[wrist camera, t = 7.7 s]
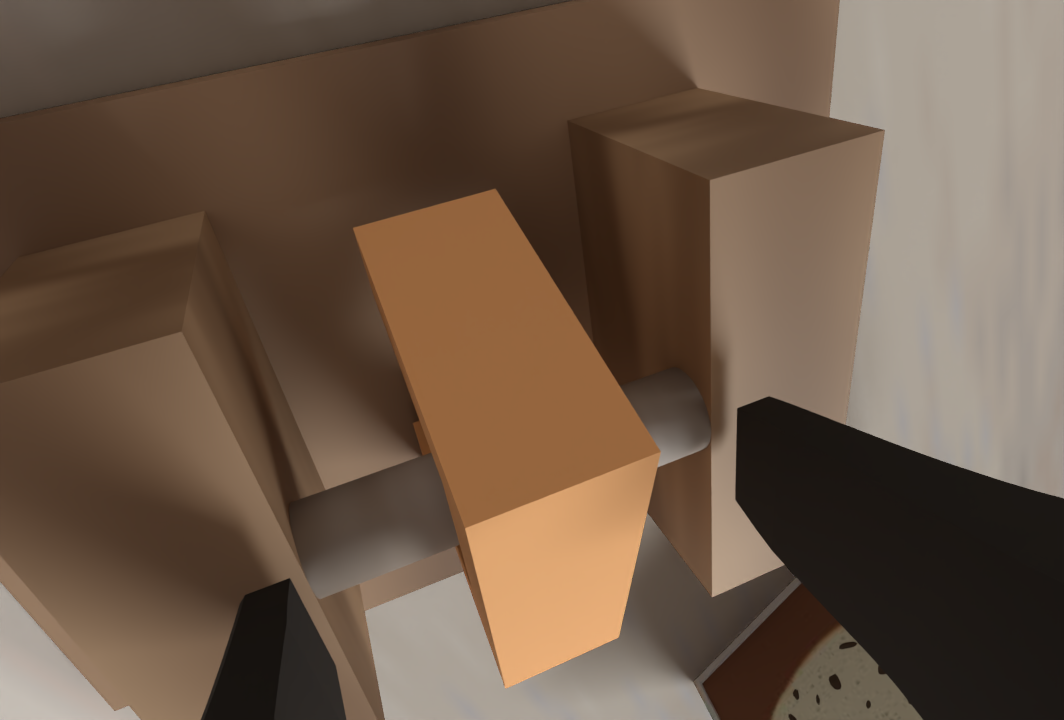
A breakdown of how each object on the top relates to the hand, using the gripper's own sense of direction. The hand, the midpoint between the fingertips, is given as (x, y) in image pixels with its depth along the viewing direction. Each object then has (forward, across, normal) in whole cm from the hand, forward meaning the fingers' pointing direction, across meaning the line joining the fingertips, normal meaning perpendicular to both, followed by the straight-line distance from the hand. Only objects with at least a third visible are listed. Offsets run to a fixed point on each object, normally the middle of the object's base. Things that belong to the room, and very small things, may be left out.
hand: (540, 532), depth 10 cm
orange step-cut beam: (+4, 0, -1) cm, 5 cm away
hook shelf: (+6, 0, 0) cm, 6 cm away
